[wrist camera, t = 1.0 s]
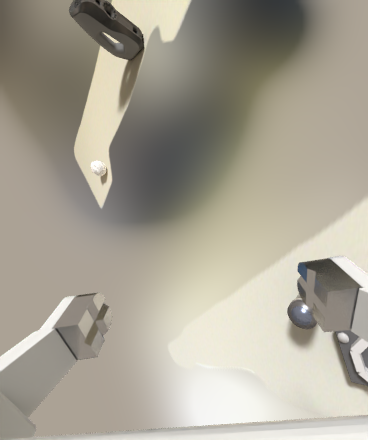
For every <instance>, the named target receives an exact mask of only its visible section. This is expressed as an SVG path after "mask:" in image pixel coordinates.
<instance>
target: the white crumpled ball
mask: <svg viewBox="0 0 368 440" xmlns="http://www.w3.org/2000/svg"><path fill="white" fill-rule="evenodd" d="M91 170H92V172H94V173H95V174H96V175H99V176H102V175H104V174H105V173H106V165H105V164H104V163H103V162H101V161H94V162H92V163H91Z"/></svg>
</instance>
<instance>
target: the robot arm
mask: <svg viewBox="0 0 368 440" xmlns="http://www.w3.org/2000/svg"><path fill="white" fill-rule="evenodd" d="M298 272H299V274H300V275H301V276H300V278H299V279H298V280H297V286H298V291H299V294H300V296H301V299H302V300H303V302H304V303H305V305H306V306H308V307H310V308H311V309H313V317H314V318H315V320H316V321H317V323H318V324H319V326H320V327H321V329H322V330H323V331H324V332H331V331H343V330H351V331H352V332H353V333H355V334H356V335H358V336H359V337H361V338H362V339H364V340H365V341H367V342H368V274H367V273H366V272H364V271H363V270H362V269H360V268H359V267H358V266H357V265H355V264H354V263H353V262H351V261H350V260H349V259H348V258H346V257H344V256H336V257H330V258H327V259H320V260H313V261H307V262H300V263H299V264H298ZM104 301H105V298H104V296H103V294H102V293H92V294H84V295H78V296H70V297H66V298H64V299H63V300H62V301H61V303H60V304H59V305H58V307H57V308H56V309H55V310H54V312H53V313H52V314H51V316H50V317H49V318H48V320H47V321H46V322H45V323H44V325H43V326H42V327H41V329H40V330H39V331H35V332H33V333H32V334H31V335H29V336H28V337H27V338H25V339H24V340H23V341H21V342H20V343H18V344H17V345H16V346H14V347H13V348H12V349H10V350H9V351H7V352H6V353H5V354H3V355H2V356H1V357H0V440H368V415H358V416H343V417H328V418H313V419H297V420H282V421H269V422H268V421H267V422H252V423H236V424H221V425H208V426H207V425H206V426H191V427H178V428H177V427H176V428H161V429H147V430H130V431H117V432H116V431H115V432H101V433H85V434H70V435H56V436H41V437H33V435H34V434H35V431H36V425H35V424H34V423H33V422H32V421H30V419H29V418H28V417H29V416H30V415H31V414H32V412H33V411H34V410H35V409H36V408H37V407H38V406H39V405H40V404H41V402H42V401H43V400H44V399H45V397H47V395H48V394H49V393H50V392H51V391H52V390H53V389H54V387H55V386H56V385H57V384H58V383H59V382H60V381H61V379H62V378H63V377H64V376H65V375H66V374H67V373H68V371H69V370H70V369H71V368H72V367H73V365H75V363H76V362H77V360H82V359H89V358H95V357H98V355H99V352H100V350H101V347H102V345H103V343H104V337H103V335H104V334H105V333H106V332H107V331H108V330H109V328H110V325H111V321H112V313H111V310H110V308H109V306H107V305H105V304H104Z"/></svg>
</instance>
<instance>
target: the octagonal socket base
mask: <svg viewBox="0 0 368 440" xmlns="http://www.w3.org/2000/svg"><path fill="white" fill-rule="evenodd" d="M335 332H336V335H337V338H338V342H339V345H340V348H341V351H342V354H343V357H344V360H345V363H346V367H347V370H348V373H349V376H350V379H351V382H354V383H358V384H362V385H367V386H368V342H367V341H365V340H364V339H362V338H361V337H359V336H358V335H356V334H355V333H353V332H352V331H351V330H343V331H335Z"/></svg>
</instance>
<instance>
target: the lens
mask: <svg viewBox="0 0 368 440" xmlns="http://www.w3.org/2000/svg"><path fill="white" fill-rule="evenodd" d="M287 312H288V316H289V318H290V320H291V321H292V322H293V323H294V324H295V325H296V326H298V327H300V328H303V329H311V328H313V327H314V326H315V325H316V323H317V321H316V320H315V318H314V317H313V309H311V308H310V307H308V306H306V305H305V303H304V302H303V300H302V299H301V296H300V294H299V295H298V296H297V297H296V299H294V300H293V301H292V302H291V303H290V305H289V307H288V311H287Z"/></svg>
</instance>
